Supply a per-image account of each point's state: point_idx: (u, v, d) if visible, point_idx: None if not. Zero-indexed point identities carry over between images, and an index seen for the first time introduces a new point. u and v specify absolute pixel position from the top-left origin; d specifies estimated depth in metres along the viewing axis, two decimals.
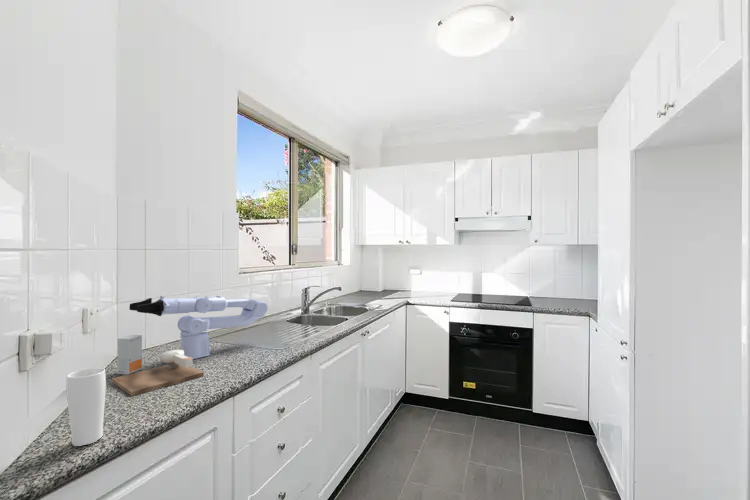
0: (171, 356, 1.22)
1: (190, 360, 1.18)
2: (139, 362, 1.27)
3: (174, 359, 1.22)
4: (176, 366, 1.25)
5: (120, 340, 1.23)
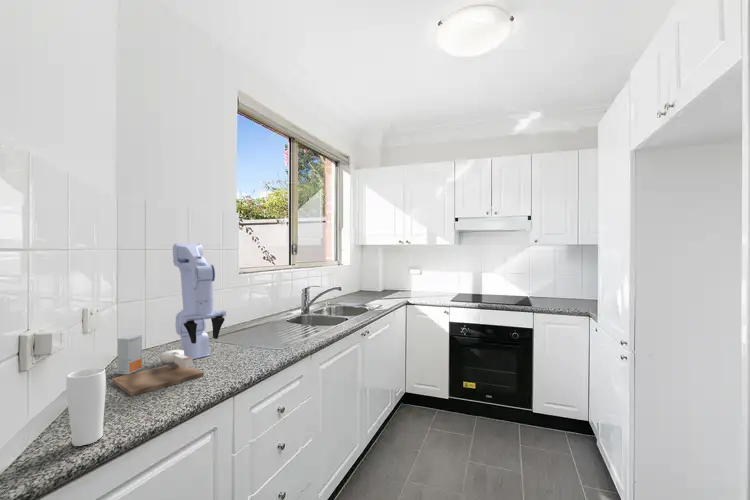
0: (171, 356, 1.22)
1: (190, 360, 1.18)
2: (139, 362, 1.27)
3: (174, 359, 1.22)
4: (176, 366, 1.25)
5: (120, 340, 1.23)
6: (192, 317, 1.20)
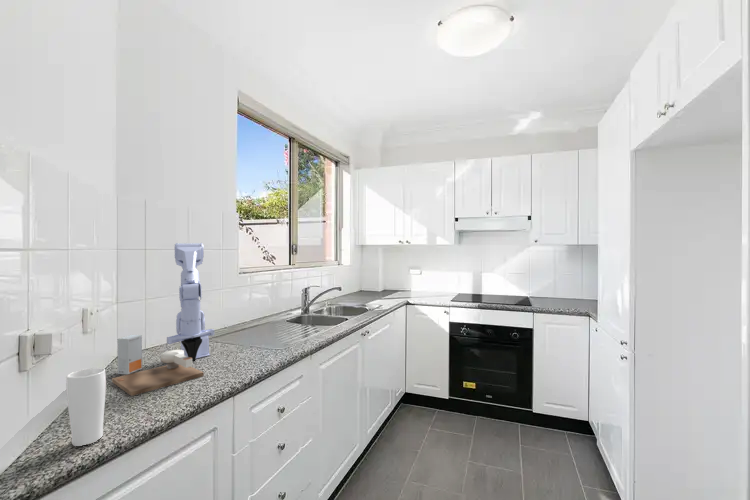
0: (171, 356, 1.22)
1: (190, 360, 1.18)
2: (139, 362, 1.27)
3: (174, 359, 1.22)
4: (176, 366, 1.25)
5: (120, 340, 1.23)
6: (178, 337, 1.16)
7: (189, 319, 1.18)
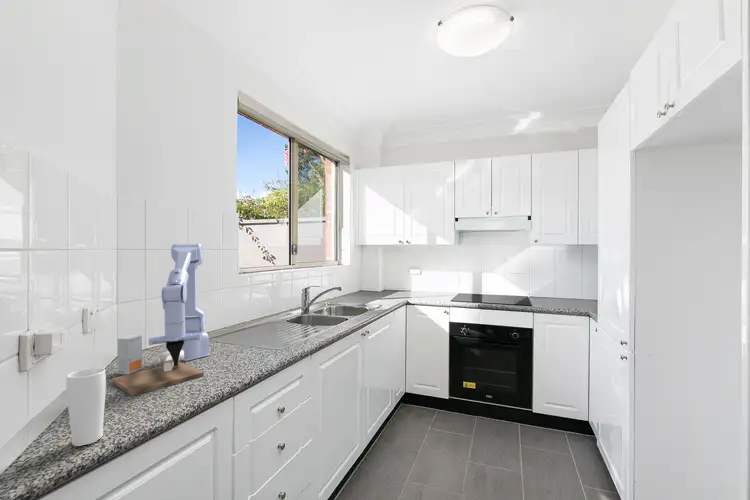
0: (166, 356, 1.22)
1: (168, 364, 1.14)
2: (139, 362, 1.27)
3: None
4: (176, 366, 1.25)
5: (120, 340, 1.23)
6: (158, 340, 1.14)
7: (171, 322, 1.14)
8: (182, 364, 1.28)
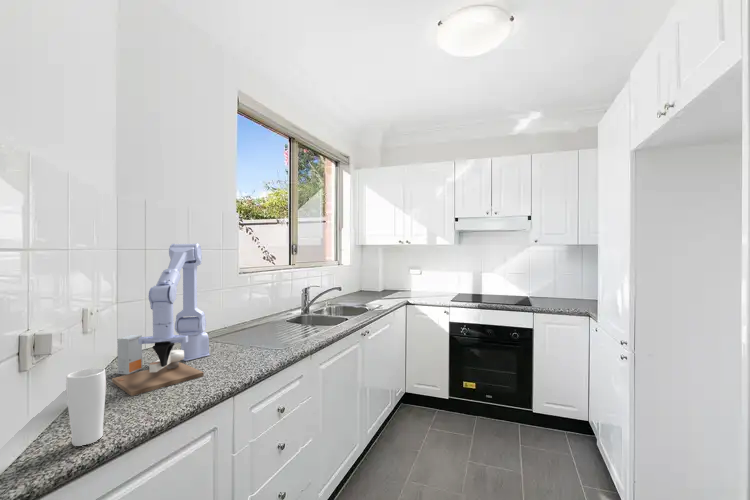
0: None
1: (154, 365, 1.13)
2: (139, 362, 1.27)
3: None
4: (176, 366, 1.25)
5: (120, 340, 1.23)
6: (145, 339, 1.14)
7: (157, 322, 1.13)
8: (182, 364, 1.28)
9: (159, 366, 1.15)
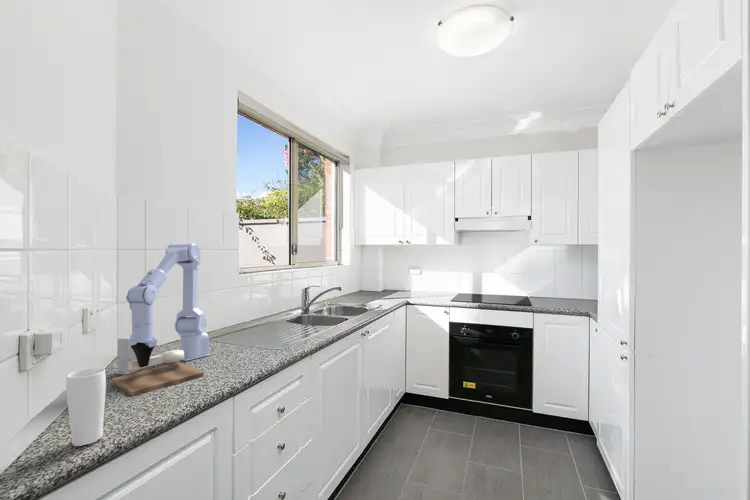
0: (160, 355, 1.24)
1: (130, 364, 1.15)
2: None
3: None
4: (176, 366, 1.25)
5: (120, 340, 1.23)
6: (131, 337, 1.18)
7: (134, 323, 1.13)
8: (182, 364, 1.28)
9: (138, 365, 1.16)
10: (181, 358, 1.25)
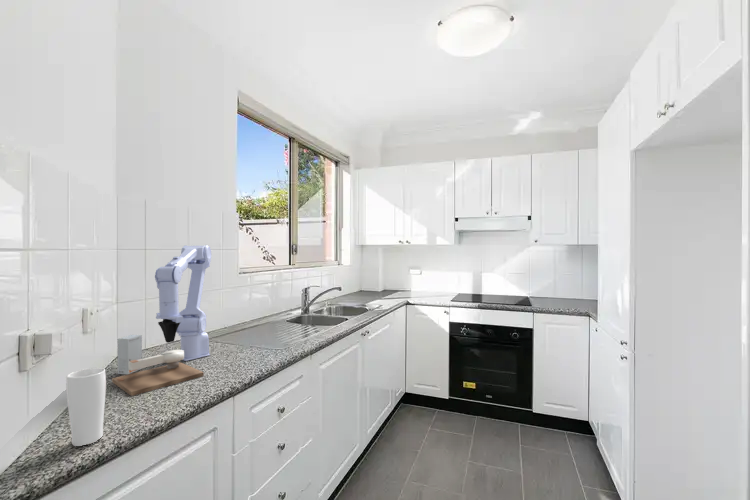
0: (160, 355, 1.24)
1: (130, 364, 1.15)
2: None
3: None
4: (176, 366, 1.25)
5: (120, 340, 1.23)
6: (158, 315, 1.25)
7: (163, 301, 1.21)
8: (182, 364, 1.28)
9: (138, 365, 1.16)
10: (181, 358, 1.25)
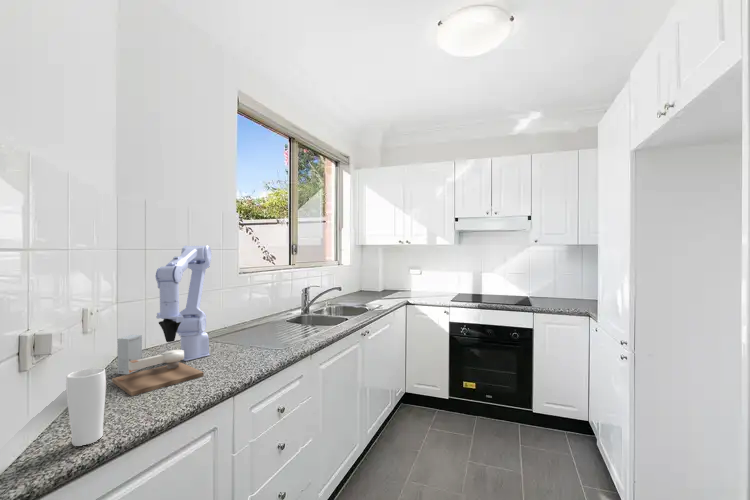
0: (160, 355, 1.24)
1: (130, 364, 1.15)
2: None
3: None
4: (176, 366, 1.25)
5: (120, 340, 1.23)
6: (158, 315, 1.26)
7: (163, 300, 1.21)
8: (182, 364, 1.28)
9: (138, 365, 1.16)
10: (181, 358, 1.25)
